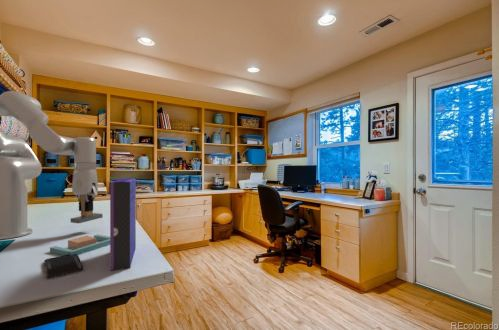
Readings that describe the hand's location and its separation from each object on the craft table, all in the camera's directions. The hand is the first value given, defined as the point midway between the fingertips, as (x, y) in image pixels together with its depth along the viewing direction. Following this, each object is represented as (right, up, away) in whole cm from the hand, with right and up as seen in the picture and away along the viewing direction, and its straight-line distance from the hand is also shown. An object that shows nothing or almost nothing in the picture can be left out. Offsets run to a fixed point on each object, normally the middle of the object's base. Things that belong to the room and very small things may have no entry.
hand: (86, 210), depth 101 cm
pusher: (0, -4, 0) cm, 4 cm away
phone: (+16, -10, -33) cm, 38 cm away
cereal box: (+30, -10, -27) cm, 42 cm away
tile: (+10, -10, -17) cm, 22 cm away
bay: (+11, -9, -17) cm, 22 cm away
